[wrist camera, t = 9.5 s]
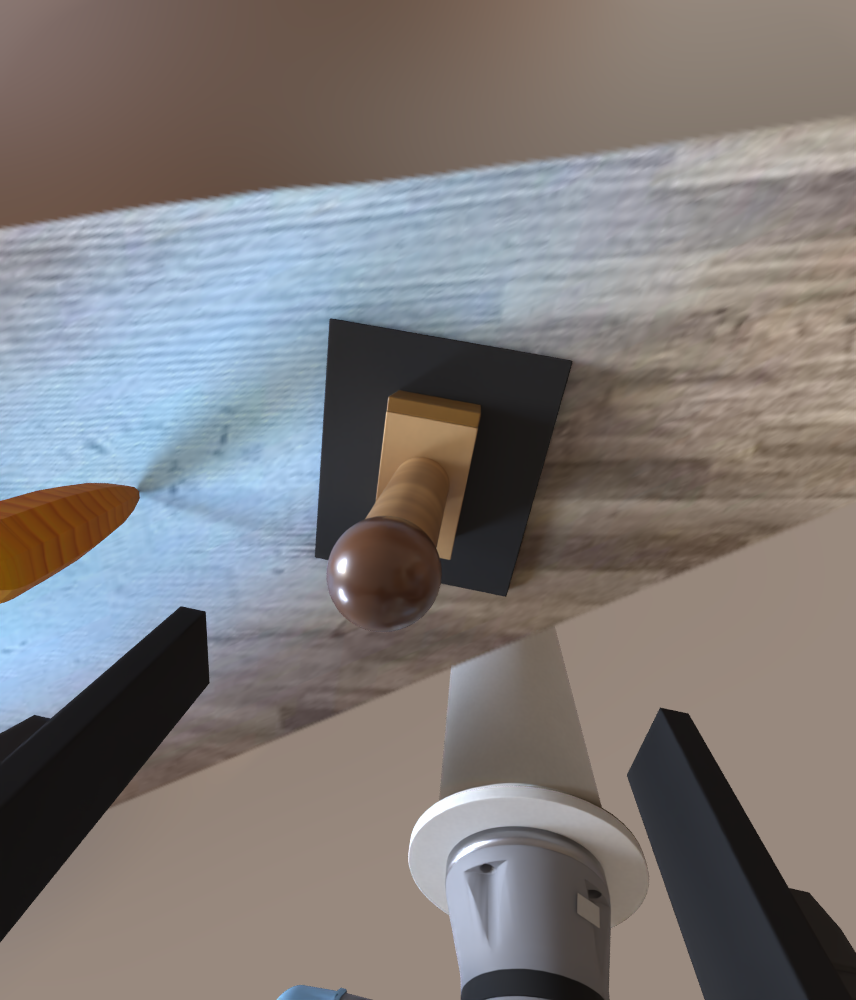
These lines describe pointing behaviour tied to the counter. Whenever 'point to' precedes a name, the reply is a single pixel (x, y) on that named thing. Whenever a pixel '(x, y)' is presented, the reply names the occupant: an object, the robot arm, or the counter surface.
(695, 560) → the counter surface
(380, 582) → the stamp
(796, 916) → the robot arm
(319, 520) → the mat
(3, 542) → the carrot
